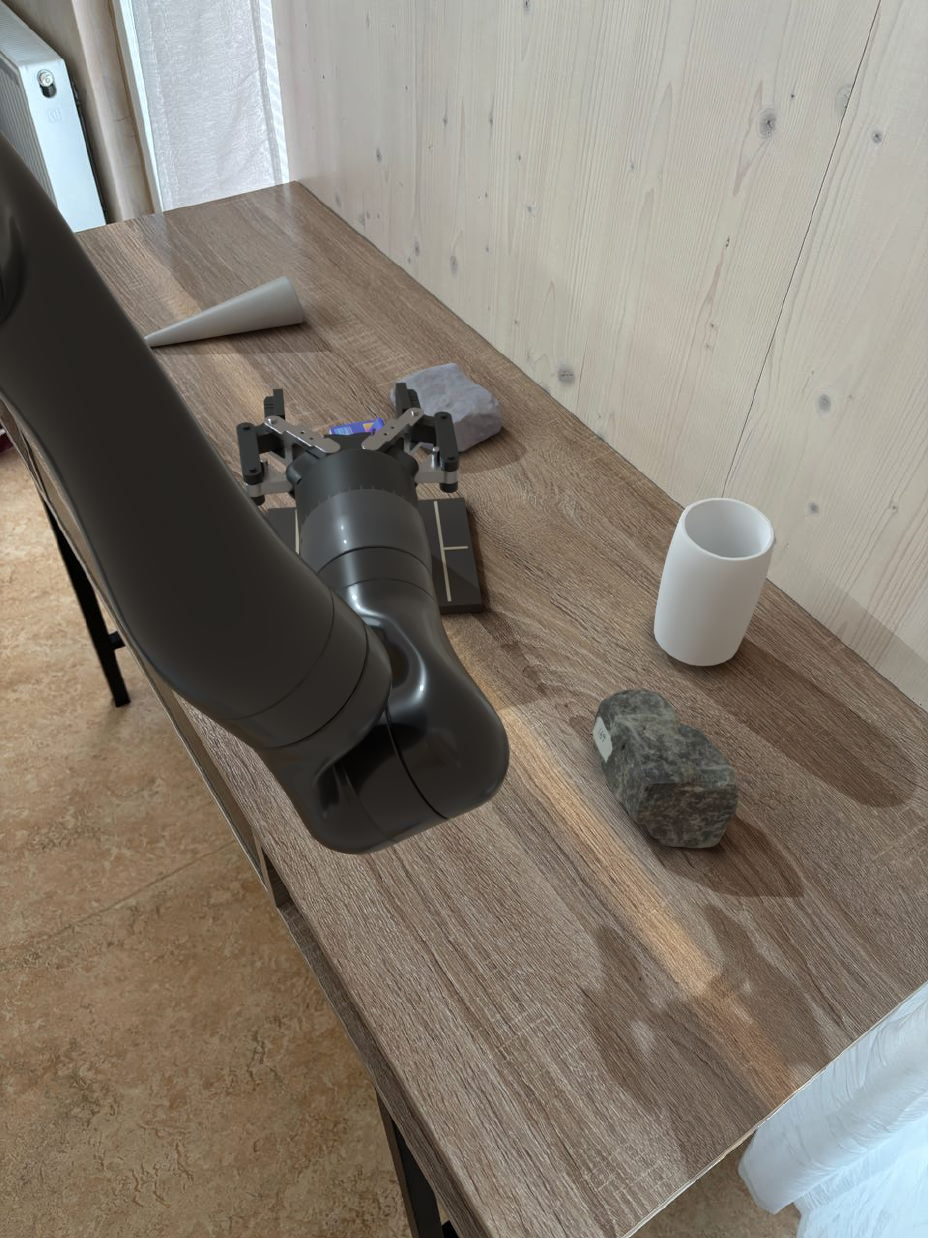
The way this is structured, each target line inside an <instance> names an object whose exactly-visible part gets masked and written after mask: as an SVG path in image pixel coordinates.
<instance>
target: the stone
mask: <svg viewBox="0 0 928 1238" xmlns="http://www.w3.org/2000/svg"><path fill="white" fill-rule="evenodd" d="M592 738H593V745H594V748H595V752H596V756H597V758H598V762H599V765H600V766H601V769H602V772H603V775H604V777H605V780H606V783H607V785H608V787H609V788H610V789H611V792H612V794H613V795H614V797H615V798H617V800H618V802H620V803H621V804H622V806H623V807H624V809H625V810H626V811H627V812H628V815H629V817H630V819H631V820H632V821H634V823H636V824H638V825H645V827H646V830H647V832H648V833H649V834H650V836H651V837H653V838H655V839H658V841H659V842H660V844H662V845H664V846H667V847H673V848H674V847H675V848H688V849H703V848H711V847H715V846H716V845H718V844H719V843H720V841H721V839H722V837H723V836H724V835H725V832H726V829H727V825H728V824H729V822H731V821H732V820H733V817H734V815H735V814H736V812H737V808H738V805H739V791H740V785H739V781H738V778H737V776H736V772H735V770H734V768H733V767H732V764H730V762H729V761H728V760H727V759H726V758H725V756H724V755H723V753H722V752H721V751H720V749H719V748H718V747H717V746H716V744H714V743H711V742H710V740H709V739H708V737H707V736H706V735H705V733H704V732H703V731H702V730H700V729H699V728H697V727H694V726H690V725H689V724H687V723H683V722H681V721H680V719H679V717H678V715H677V713H676V712H675V710H674V708H673V707H672V706H671V704H670V702H669V701H667V700H666V698H665V697H664V696H662V695H661V694H660V693H658V692H657V691H653V690H650V689H632V688H631V689H623V690H618V691H616V692H615V691H614V693H612V694H610V695H609V696H608V697H606V698H604V699H602V700H601V701H600V704H599V706H598V707H597V711H596V713H595V716H594V721H593V726H592Z"/></svg>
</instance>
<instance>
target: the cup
mask: <svg viewBox="0 0 928 1238" xmlns="http://www.w3.org/2000/svg"><path fill="white" fill-rule="evenodd" d="M775 543H776V531H775V529H774V525H773V523H772V522H771V520H769V519H768V517H767V516H766V515H765V514H764V513H762V511H760V510H759V509H757V508H756V507H755V506H753V505H751V504H748V503H747V502H744V501H741V500H738V499H735V498H730V497H729V498H727V497H709V498H705V499H701V500H697V501H695V502H693V503H691V504H689V505H688V506H686V508H685V509H684V510H683V511H682V513H681V515H680V517H679V520H678V521H677V525H676V528H675V530H674V533H673V535H672V538H671V542H670V544H669V548H668V551H667V554H666V558H665V562H664V567H663V570H662V576H661V580H660V584H659V590H658V594H657V595H658V596H657V600H656V608H655V614H654V620H653V634H654V638H655V641H656V642H657V643H658V645H659V646H660V648H661V649H663V651H665V652H666V654H668V656H671V657H673V658H674V659H676V660H677V661H679V662H681V663H684V664H687V665H690V666H698V667H699V666H700V667H708V666H711V667H712V666H716V665H719V664H723V663H726V662H727V661H729V660H730V659H732V658H733V657H734V655H735V654H736V653H737V652H738V649H739V647H740V646H741V644H742V641H743V639H744V637H745V634H746V632H747V630H748V628H749V625H750V623H751V620H752V618H753V616H754V612H755V610H756V608H757V605H758V603H759V600H760V596H761V594H762V591H763V588H764V586H765V582H766V579H767V577H768V572H769V569H770V565H771V562H772V557H773V552H774V547H775Z"/></svg>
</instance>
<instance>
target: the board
mask: <svg viewBox="0 0 928 1238" xmlns="http://www.w3.org/2000/svg"><path fill="white" fill-rule="evenodd" d="M418 500H419V505H420V509H421V513H422V517H423V521H424V526H425V530H426V534H427V539H428V543H429V547H430V553H431V559H432V579H433V585H434V589H435V594H436V598H437V602H438V607H439V611H440V615H451V614H456V615H457V614H469V613H482V612H483V600H482V594H481V588H480V583H479V577H478V570H477V565H476V564H477V563H476V559H475V553H474V549H473V542H472V535H471V529H470V524H469V518H468V512H467V507H466V501H465V497H448V498H447V497H445V498H429V499H418ZM266 517H267V518H268V520H269V521H270V522H271V523H272V525H273V526H274V527H275V528H276V529H277V530H278V532H279V533H280V534H281V535H282V536H283V537H284V538H285V539H286V541H287V542H288V543H289V544H290V545H291V546H292V547H293V548H294V550H295V551H296V552H297V553H298V554H299V555H300V544H299V534H298V523H297V512H296V506H291V507H290V506H289V507H288V506H287V507H272V508H271V507H270V508H267V513H266ZM300 556H301V555H300Z"/></svg>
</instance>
